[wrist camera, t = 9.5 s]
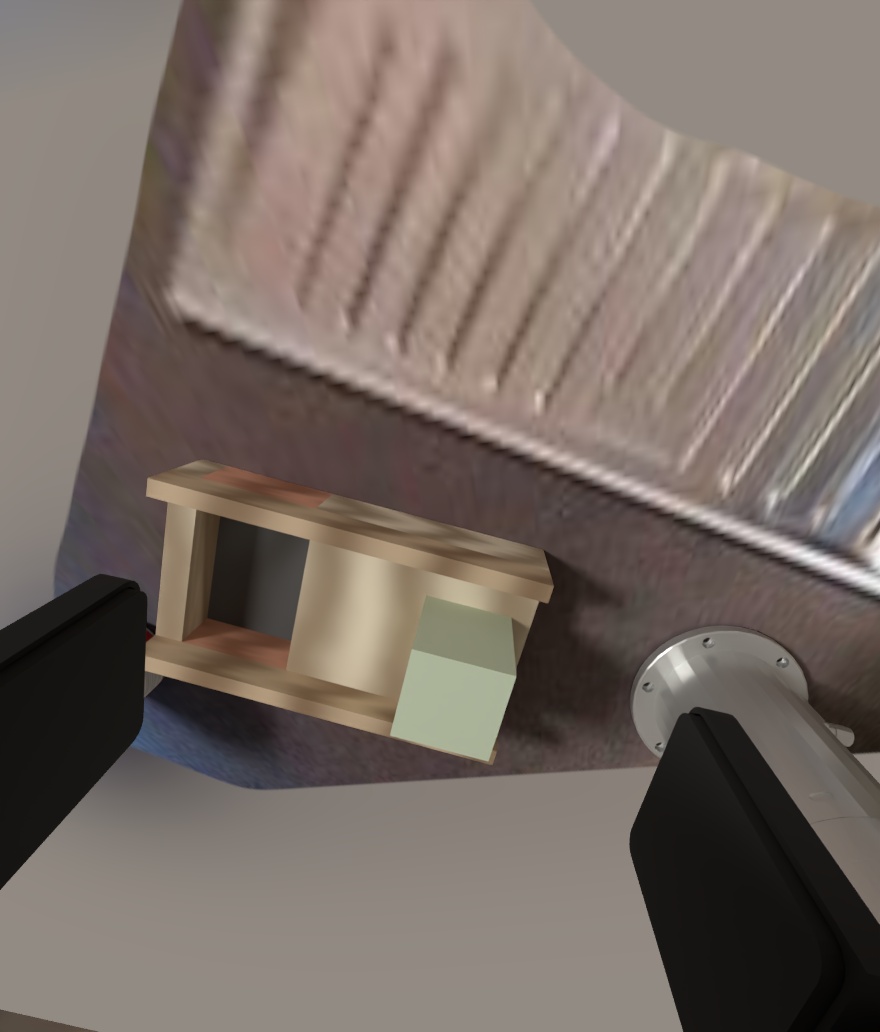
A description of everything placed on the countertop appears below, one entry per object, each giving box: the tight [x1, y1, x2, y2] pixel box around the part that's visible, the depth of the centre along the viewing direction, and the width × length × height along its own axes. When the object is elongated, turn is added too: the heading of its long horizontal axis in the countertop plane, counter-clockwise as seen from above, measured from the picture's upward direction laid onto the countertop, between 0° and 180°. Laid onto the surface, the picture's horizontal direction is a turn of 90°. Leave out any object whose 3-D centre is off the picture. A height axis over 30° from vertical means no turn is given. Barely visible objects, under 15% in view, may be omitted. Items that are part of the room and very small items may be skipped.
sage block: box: [390, 595, 517, 761], centre depth 33 cm, size 6×6×7 cm
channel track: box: [145, 459, 554, 765], centre depth 37 cm, size 26×14×6 cm, turn 76°
